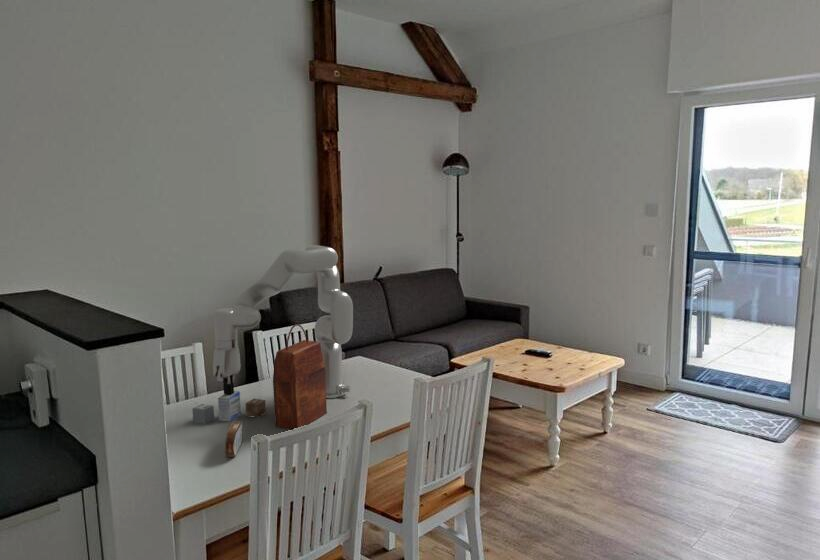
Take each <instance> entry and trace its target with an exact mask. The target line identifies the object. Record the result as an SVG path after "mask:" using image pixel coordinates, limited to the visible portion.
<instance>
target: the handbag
mask: <svg viewBox="0 0 820 560" xmlns="http://www.w3.org/2000/svg"><path fill="white" fill-rule="evenodd" d="M297 326H298V327H300V328H301V330H302V331H303V335H304V338H305V339H304V340H301V341H298V342H296V343H294V344H291V345H289V339H290V336H291V333H292V331H293V329H295V328H296V327H297ZM288 345H289V346H288ZM273 363H274V366H273V375H272V388H273V389H272V390H273V405H274V406H273V407H274V422H275V423H274V424H275V427H277V428H282V429H287V430H291V429H294V428H298V427H301V426H304V425H306V426H308V425H309V424H311V423H312V422H313V421H315V420H317V419H319V418H320V417H322V416H323V415H325V414H326V413H327V412H328V411H327V410H328V409H327V398H326V380H325V365H324V360H323V355H322V350H321V345H320V343H319V342H317V341H315V340H309V339H308V336H307V334H306V331H305V329H304V327H303V326H302V325H301V324H299V323H297V324H294V325H292V327H290V330H289V331H288V335H287V338H286V346H285V347H284V348H282V349H279V350H277V351H276V353H275V358H274V362H273ZM307 424H308V425H307Z"/></svg>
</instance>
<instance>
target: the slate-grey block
mask: <svg viewBox="0 0 820 560" xmlns="http://www.w3.org/2000/svg"><path fill="white" fill-rule="evenodd" d="M214 406H215V405H213V404H212V405H211V404H207V403H206V404H204V403H201V404H199V405H196V406H195V407H193V408H192V422H193V423H196V422H197V424H203V425H205V424H207V423H210V422H211V421H213V420H215V409H214V408H215V407H214Z"/></svg>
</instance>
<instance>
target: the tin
mask: <svg viewBox="0 0 820 560" xmlns="http://www.w3.org/2000/svg"><path fill="white" fill-rule="evenodd" d="M243 426H244V422H243V421H242V420H241V421H240V420H232V423H231V425H230V426H229V428H228V429H227V433H226V438H225V447H224V453H225V457H226V458H233V457H234V458H235V457H236V456H237V455H238V452H239V450H240V449H241V446H242V442H243V437H244V435H243Z"/></svg>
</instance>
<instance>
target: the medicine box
mask: <svg viewBox="0 0 820 560" xmlns="http://www.w3.org/2000/svg"><path fill="white" fill-rule="evenodd" d="M217 402H218V418H219V421H221V422H230V421H231V422H233V421H234V420H235V419H236V418H237V417H239V414H240V415H241V413H242V409H241V407H242V406H241V392H240V391H239V390H234V393H233V394H231V395H228V394H224V393H223V394H221V396H219V397H218V398H217ZM234 418H235V419H234Z"/></svg>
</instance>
